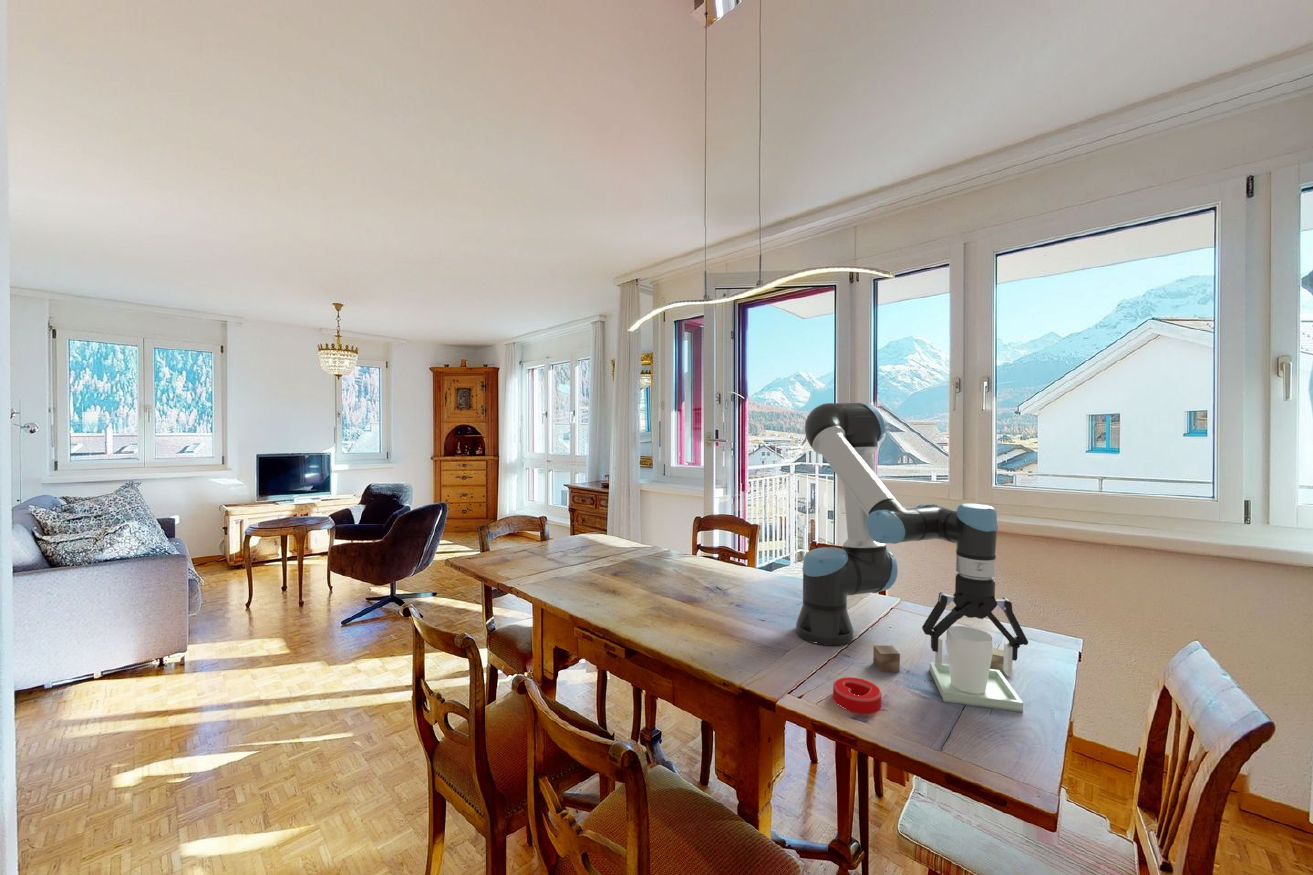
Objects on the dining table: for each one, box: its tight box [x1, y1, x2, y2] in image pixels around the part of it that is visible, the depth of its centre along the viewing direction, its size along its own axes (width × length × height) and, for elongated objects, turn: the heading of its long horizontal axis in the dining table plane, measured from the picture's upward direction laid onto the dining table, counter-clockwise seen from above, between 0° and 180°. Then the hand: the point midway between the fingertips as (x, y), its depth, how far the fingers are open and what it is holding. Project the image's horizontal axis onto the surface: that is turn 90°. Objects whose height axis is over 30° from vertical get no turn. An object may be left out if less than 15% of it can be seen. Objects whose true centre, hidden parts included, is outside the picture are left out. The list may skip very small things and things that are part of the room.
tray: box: [928, 661, 1024, 713], centre depth 118 cm, size 15×15×2 cm
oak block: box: [990, 647, 1006, 674], centre depth 128 cm, size 5×4×4 cm
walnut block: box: [872, 644, 901, 673], centre depth 129 cm, size 4×4×4 cm
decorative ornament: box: [832, 676, 882, 715], centre depth 114 cm, size 10×10×3 cm
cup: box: [945, 625, 994, 694], centre depth 118 cm, size 9×9×12 cm
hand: (972, 669), depth 118 cm, fingers open, 13 cm apart
